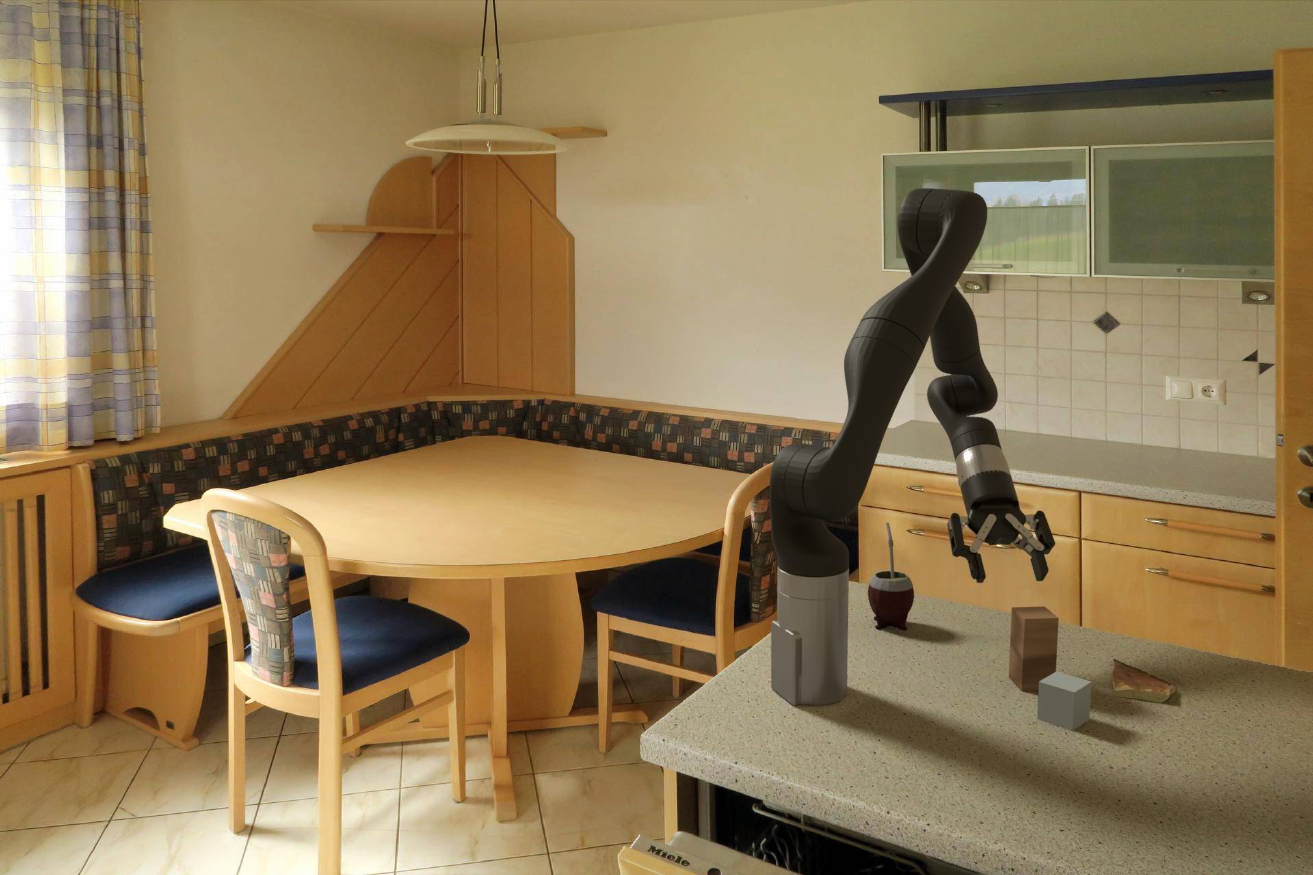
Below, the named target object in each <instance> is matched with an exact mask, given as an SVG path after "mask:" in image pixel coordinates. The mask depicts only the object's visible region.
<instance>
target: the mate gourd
mask: <svg viewBox="0 0 1313 875" xmlns="http://www.w3.org/2000/svg"><path fill="white" fill-rule="evenodd" d="M885 527H886V530H887V531H886V532H887V537H888V538H887V539H888V540H887V545H888V548H889V550H888V551H889V564H890V565H889V566H890V570H881V571H877V572H876V573H875V574H873V575H872V577H871V578H870V579H869V581H868V582H869V583H868V586H867V598H868V602H869V605H870V608H871V610H872V612H873V614H874V615H875V616H874V617H873V620H874V621H876V624H877V625H875V626H874V627H875V628H876V630H878V631H879V630H883V629H885V628H889V627H892V628H895V629H897V628H898V630H901V631H905V632H906V631H907V630H908V626H907V625H906V624H907V620H908V616H909V613H910V612H911V610H912V607H913V604H914V601H915V590H914V585H913V581H912V580H911V577H909V575H908V574H906V573H904V572H901V571H895V563H894V562H895V561H894V540H893V536H892V531H891V527H890V522H885ZM875 628H874V629H875Z"/></svg>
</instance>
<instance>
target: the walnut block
mask: <svg viewBox="0 0 1313 875" xmlns="http://www.w3.org/2000/svg"><path fill="white" fill-rule="evenodd" d="M1058 636H1059V616H1057V615H1056V614H1054V613H1053V612H1052V611H1051V610H1050V609H1049V608H1047V607H1046V606H1043V605H1042V606H1017V607H1016V606H1013V607H1012V606H1011V617H1010V636H1009V637H1010V638H1009V639H1010V640H1009V658H1008V659H1009V660H1008V661H1009V662H1008V663H1009V664H1008V679H1010V680H1011V681H1012V682H1013V684H1014V685H1015V686H1016V687H1017V688H1018V689H1019V690H1020V691H1021V692H1032V691H1033V692H1035V691H1036V692H1039V681H1041V680H1043V679H1044V678H1046V677H1048V676H1050V675H1051V674H1053V673H1055V672H1056V671H1057V661H1058V660H1057V656H1058V642H1059V641H1058V638H1059V637H1058Z"/></svg>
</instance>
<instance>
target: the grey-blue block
mask: <svg viewBox="0 0 1313 875" xmlns="http://www.w3.org/2000/svg"><path fill="white" fill-rule="evenodd" d="M1037 692H1038V695H1037V698H1038V699H1037V716H1036V720H1039V721H1042V722H1044V723H1047V724H1051V725H1053V726H1056V727H1060V728H1062V729H1065V730H1068V731H1074V730H1075V729H1077V728H1078V727H1080V726H1082V725H1083V724H1085V723H1086V722H1088V721H1089V720H1090V714H1091V713H1090V712H1091V699H1092V698H1091V696H1092V681H1091V680H1086V679H1083V678H1080V677H1077V676H1073V675H1070V674H1067V673H1063V672H1060V671H1057V670H1056V672H1055V673H1053V674H1051V675H1050V676H1048V677H1046V678H1044V679H1043V680H1041V681H1039V690H1038V691H1037Z"/></svg>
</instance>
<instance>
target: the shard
mask: <svg viewBox="0 0 1313 875" xmlns="http://www.w3.org/2000/svg"><path fill="white" fill-rule="evenodd" d="M1112 662H1113V663H1112V664H1113V670H1112V677H1111V678H1112V687H1113V691H1114V692H1113V693H1114V697H1121V698H1129V699H1135V700H1143V701H1149V702H1153V703H1159V704H1160V703H1164V702H1166V701H1167V700H1168V699H1169V698H1170V695H1173V694H1174V693H1176V691H1177V686H1176V685H1174V684H1172V683H1171V682H1168V681H1166V680H1165V679H1161V678H1158V676H1156V675H1153V674H1152V673H1150V672H1147V671H1145V670H1142V669H1139V668H1138V667H1134V666H1131V665H1129V664H1126V663H1124V662H1122V661H1120V660H1117V659H1116V658H1113V661H1112ZM1172 693H1173V694H1172Z"/></svg>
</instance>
